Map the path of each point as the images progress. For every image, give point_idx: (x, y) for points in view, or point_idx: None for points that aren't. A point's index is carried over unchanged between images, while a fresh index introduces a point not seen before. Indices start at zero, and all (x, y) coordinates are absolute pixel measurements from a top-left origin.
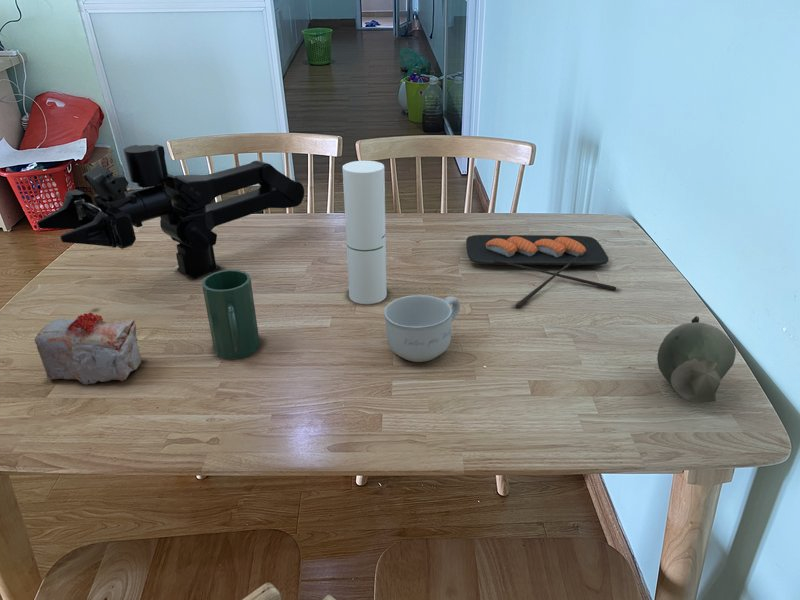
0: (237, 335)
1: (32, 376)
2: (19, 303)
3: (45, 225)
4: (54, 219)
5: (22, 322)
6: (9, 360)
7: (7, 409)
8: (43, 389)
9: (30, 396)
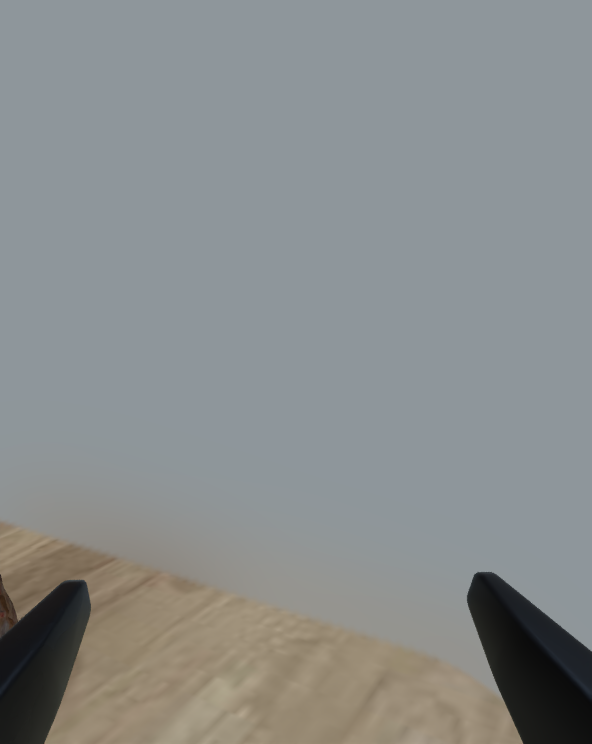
0: None
1: None
2: (507, 718)
3: (493, 639)
4: (567, 723)
5: (359, 675)
6: (190, 586)
7: (37, 534)
8: None
9: (19, 570)
